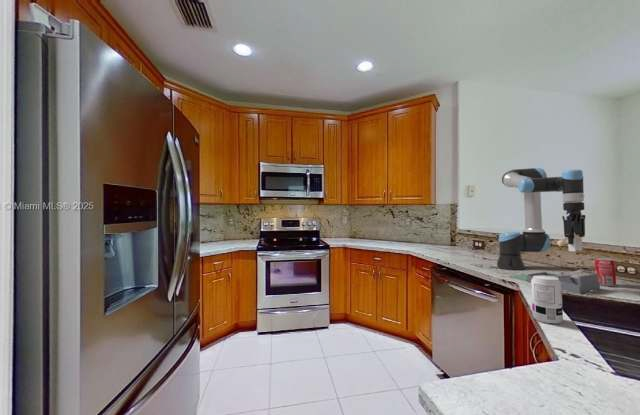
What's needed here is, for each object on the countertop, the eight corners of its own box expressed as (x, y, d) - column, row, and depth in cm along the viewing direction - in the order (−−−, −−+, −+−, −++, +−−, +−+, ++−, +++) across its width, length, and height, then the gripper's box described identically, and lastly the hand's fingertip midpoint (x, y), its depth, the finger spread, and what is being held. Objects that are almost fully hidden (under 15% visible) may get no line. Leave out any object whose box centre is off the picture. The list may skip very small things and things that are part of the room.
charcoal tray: (527, 282, 147) (526, 267, 147) (545, 278, 152) (545, 265, 153) (579, 293, 126) (579, 276, 126) (599, 289, 131) (599, 273, 131)
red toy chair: (620, 287, 133) (619, 260, 133) (602, 286, 135) (601, 260, 135) (608, 283, 140) (607, 257, 140) (591, 283, 142) (590, 257, 142)
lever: (538, 283, 143) (535, 279, 144) (554, 280, 148) (551, 276, 149) (574, 273, 128) (571, 268, 130) (591, 270, 133) (587, 265, 134)
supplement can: (527, 316, 102) (525, 275, 102) (550, 315, 101) (548, 274, 102) (544, 325, 93) (542, 280, 94) (569, 324, 93) (567, 280, 93)
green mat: (508, 277, 158) (508, 276, 158) (523, 275, 162) (523, 274, 162) (526, 281, 149) (526, 279, 149) (541, 278, 153) (541, 277, 153)
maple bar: (559, 246, 138) (556, 241, 139) (564, 245, 139) (561, 241, 140) (576, 239, 131) (572, 235, 132) (581, 239, 133) (578, 234, 134)
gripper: (571, 202, 127) (573, 253, 127) (593, 201, 133) (596, 250, 133) (553, 202, 134) (554, 251, 134) (575, 202, 140) (577, 248, 140)
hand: (575, 250), depth 133 cm, fingers closed on maple bar, 4 cm apart
